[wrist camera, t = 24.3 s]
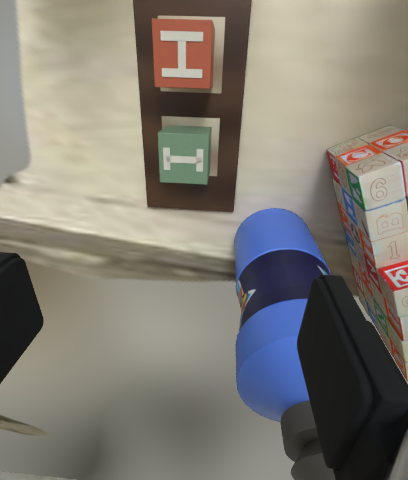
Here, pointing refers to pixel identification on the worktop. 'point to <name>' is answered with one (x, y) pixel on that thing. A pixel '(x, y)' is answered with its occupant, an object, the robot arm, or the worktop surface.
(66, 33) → the worktop surface
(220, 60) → the word board
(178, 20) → the letter H
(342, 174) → the stack of blocks
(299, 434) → the water bottle
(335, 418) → the robot arm
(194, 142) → the letter I
